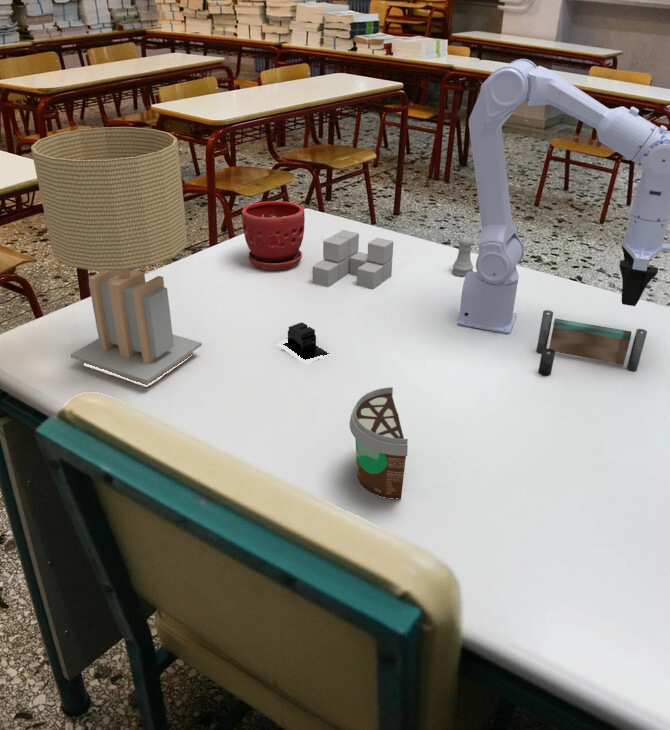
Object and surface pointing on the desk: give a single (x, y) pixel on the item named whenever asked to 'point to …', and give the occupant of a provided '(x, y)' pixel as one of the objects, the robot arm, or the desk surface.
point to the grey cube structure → (354, 261)
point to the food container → (379, 444)
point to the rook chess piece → (463, 257)
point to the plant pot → (274, 233)
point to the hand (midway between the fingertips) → (629, 295)
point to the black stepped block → (303, 341)
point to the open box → (590, 341)
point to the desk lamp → (118, 238)
